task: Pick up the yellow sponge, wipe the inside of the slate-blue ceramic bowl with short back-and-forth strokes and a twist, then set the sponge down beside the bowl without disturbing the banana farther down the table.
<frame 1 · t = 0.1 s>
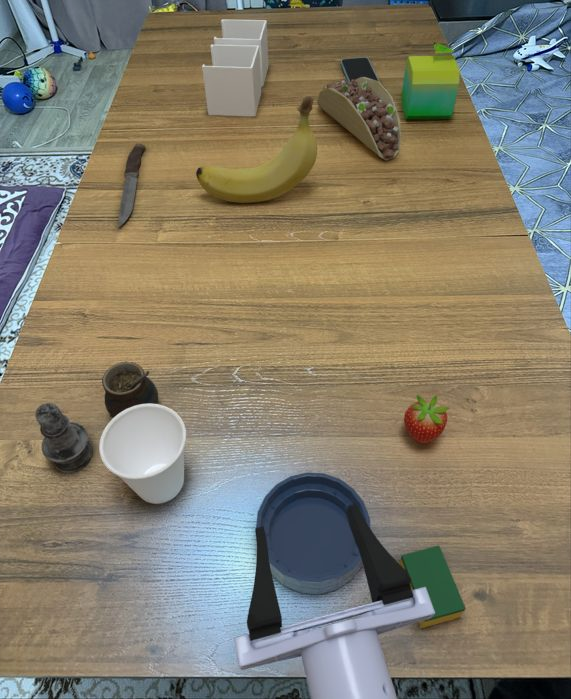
hand: (306, 519, 47), 23 cm above the table, tool horizontal, fingers open, 7 cm apart
leaf-topped green cube: (424, 112, 132), on the table
chess piece: (73, 455, 77), on the table
cup: (160, 483, 75), on the table
taco: (355, 132, 127), on the table
storage container: (240, 90, 141), on the table
mate gourd: (137, 411, 82), on the table
smartphone: (359, 77, 143), on the table
sponge: (427, 591, 65), on the table
bowl: (312, 539, 69), on the table
fruit: (420, 437, 78), on the table
knife: (132, 186, 116), on the table
banana: (258, 199, 113), on the table
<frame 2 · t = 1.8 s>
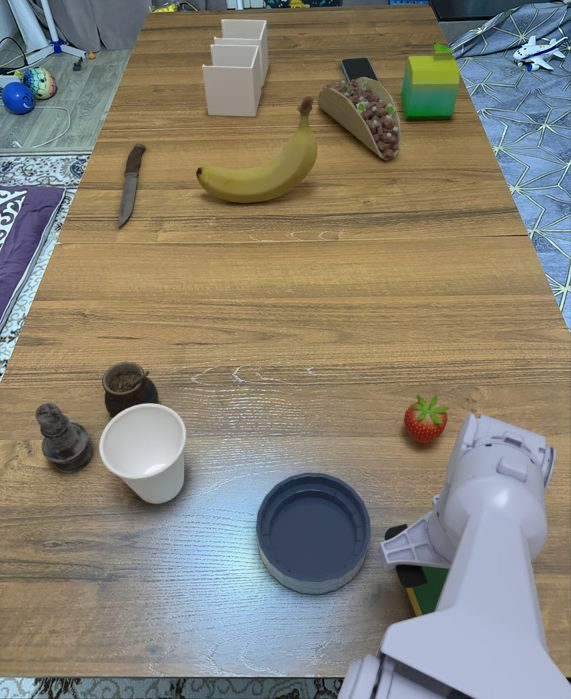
hand: (440, 567, 59), 8 cm above the table, tool pointing down, fingers open, 7 cm apart
nothing on the table moved.
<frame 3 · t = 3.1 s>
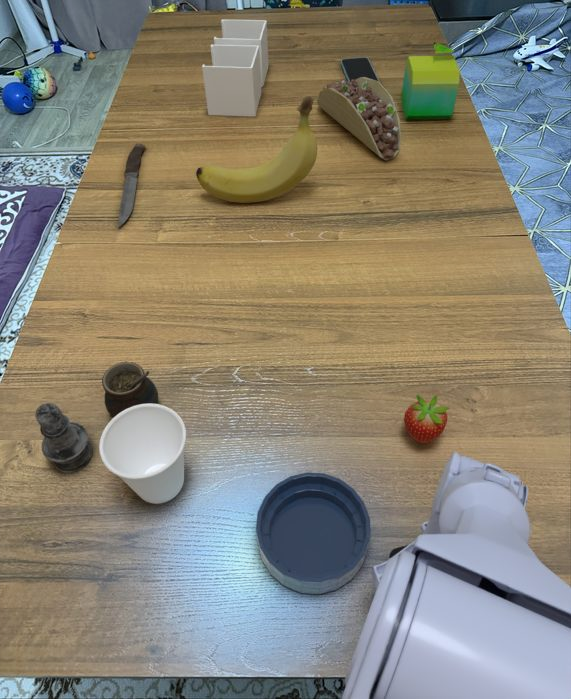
hand: (429, 587, 64), 1 cm above the table, tool pointing down, fingers closed on sponge, 4 cm apart
sponge: (427, 591, 65), on the table, touching gripper
everything else where it was.
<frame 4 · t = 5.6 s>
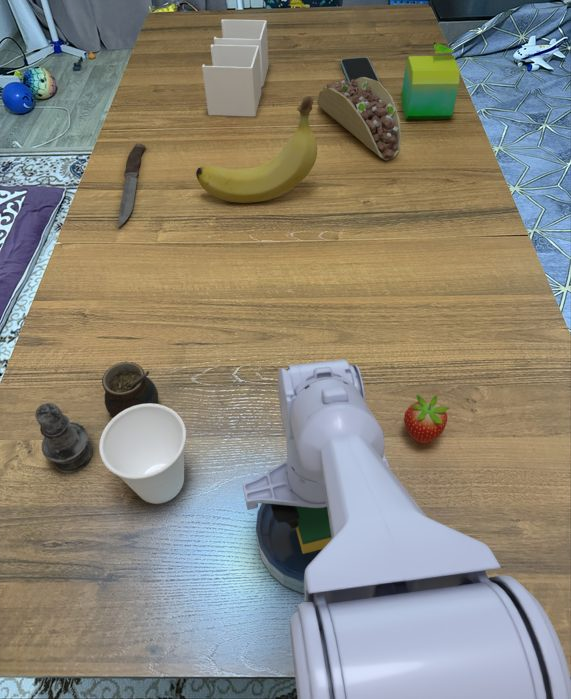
hand: (314, 514, 64), 7 cm above the table, tool pointing down, fingers closed on sponge, 4 cm apart
sponge: (313, 519, 65), point 6 cm above the table, touching gripper
everything else where it was.
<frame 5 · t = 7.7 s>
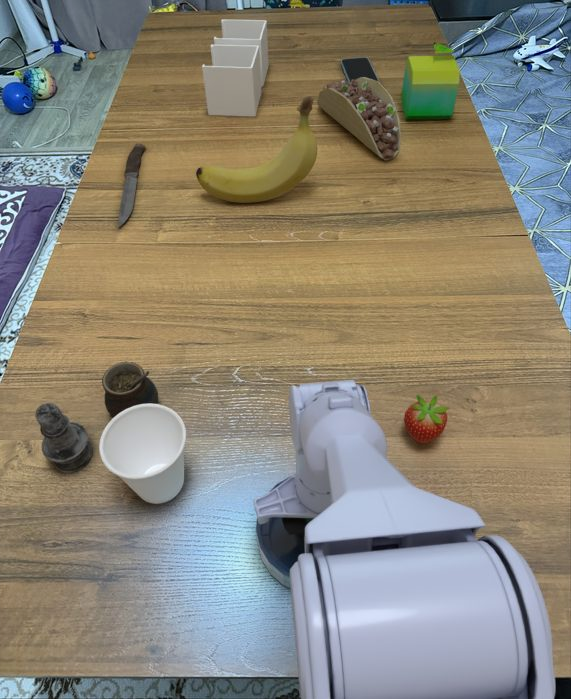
hand: (321, 523, 66), 4 cm above the table, tool pointing down, fingers closed on sponge, 4 cm apart
sponge: (320, 527, 67), point 3 cm above the table, touching gripper
everything else where it was.
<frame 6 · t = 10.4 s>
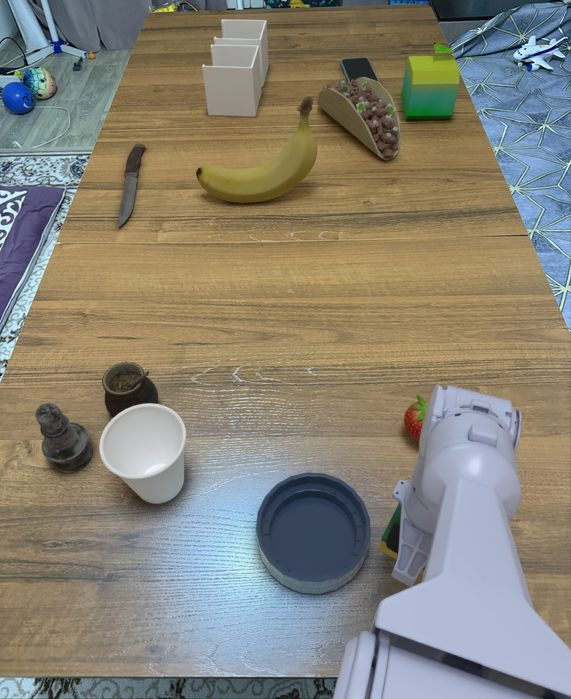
hand: (419, 543, 61), 8 cm above the table, tool pointing down, fingers closed on sponge, 4 cm apart
sponge: (416, 548, 62), point 7 cm above the table, touching gripper
everything else where it was.
when the fingers open (1 cm above the table, at t = 12.5 s): sponge stays where it is, on the table.
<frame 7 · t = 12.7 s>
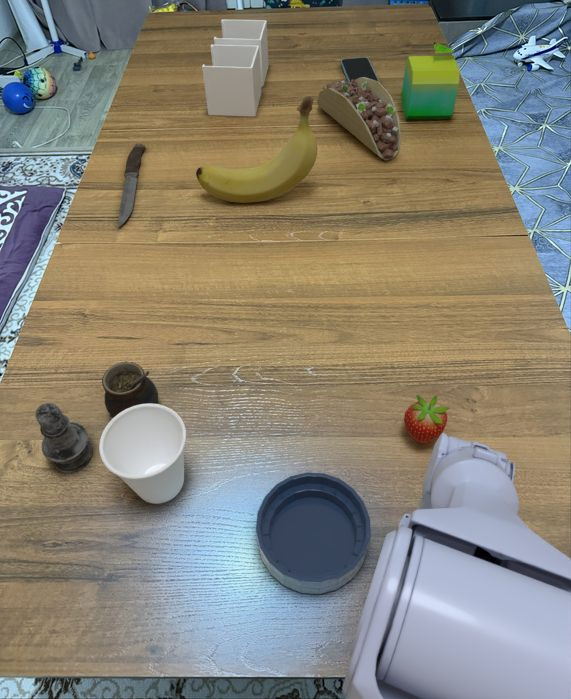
hand: (422, 569, 66), 1 cm above the table, tool pointing down, fingers open, 5 cm apart
sponge: (420, 573, 67), on the table
everything else where it was.
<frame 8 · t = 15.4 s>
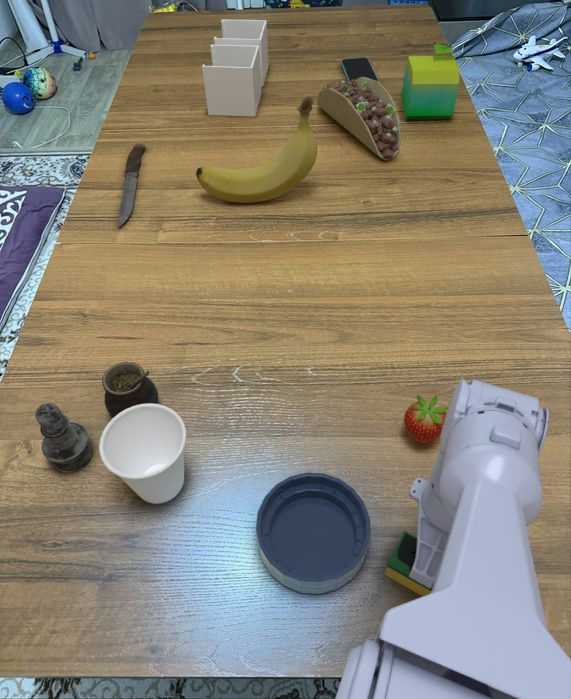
hand: (435, 543, 59), 9 cm above the table, tool pointing down, fingers open, 7 cm apart
nothing on the table moved.
at the end: sponge inside the target area on the table beside the bowl (0.0 cm from its centre), on the table; the gripper is holding nothing; banana moved 0.2 cm from its start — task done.
